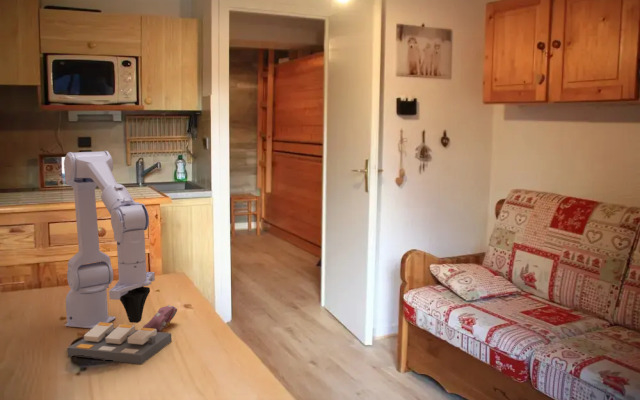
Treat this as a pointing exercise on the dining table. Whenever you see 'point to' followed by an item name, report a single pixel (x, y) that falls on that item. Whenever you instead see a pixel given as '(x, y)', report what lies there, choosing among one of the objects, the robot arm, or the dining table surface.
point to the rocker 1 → (98, 331)
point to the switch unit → (121, 348)
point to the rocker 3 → (142, 336)
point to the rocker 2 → (120, 334)
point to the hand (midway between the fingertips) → (135, 321)
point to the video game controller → (161, 318)
